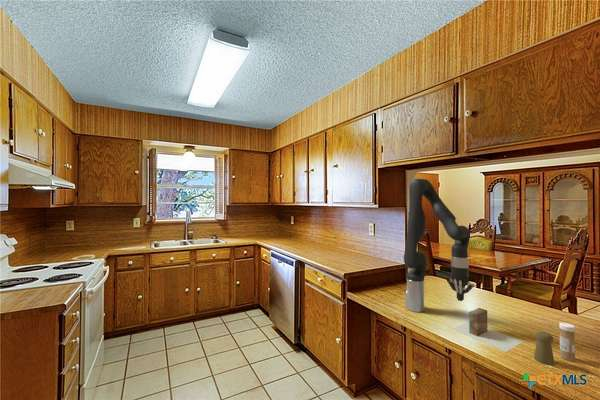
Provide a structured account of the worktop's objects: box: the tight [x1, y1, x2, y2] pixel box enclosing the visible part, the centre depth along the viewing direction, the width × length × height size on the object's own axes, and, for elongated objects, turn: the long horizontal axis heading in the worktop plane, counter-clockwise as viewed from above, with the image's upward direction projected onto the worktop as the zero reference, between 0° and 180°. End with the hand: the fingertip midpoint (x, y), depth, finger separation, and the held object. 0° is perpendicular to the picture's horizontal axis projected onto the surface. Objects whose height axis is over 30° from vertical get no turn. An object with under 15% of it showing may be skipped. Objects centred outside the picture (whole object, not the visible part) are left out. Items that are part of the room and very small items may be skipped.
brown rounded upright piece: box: [533, 330, 556, 366], centre depth 105 cm, size 6×6×11 cm
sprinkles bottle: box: [558, 322, 576, 362], centre depth 107 cm, size 5×5×14 cm
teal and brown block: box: [468, 307, 488, 336], centre depth 127 cm, size 4×9×10 cm, turn 120°
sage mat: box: [451, 321, 524, 353], centre depth 125 cm, size 23×16×1 cm
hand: (460, 300), depth 134 cm, fingers closed
